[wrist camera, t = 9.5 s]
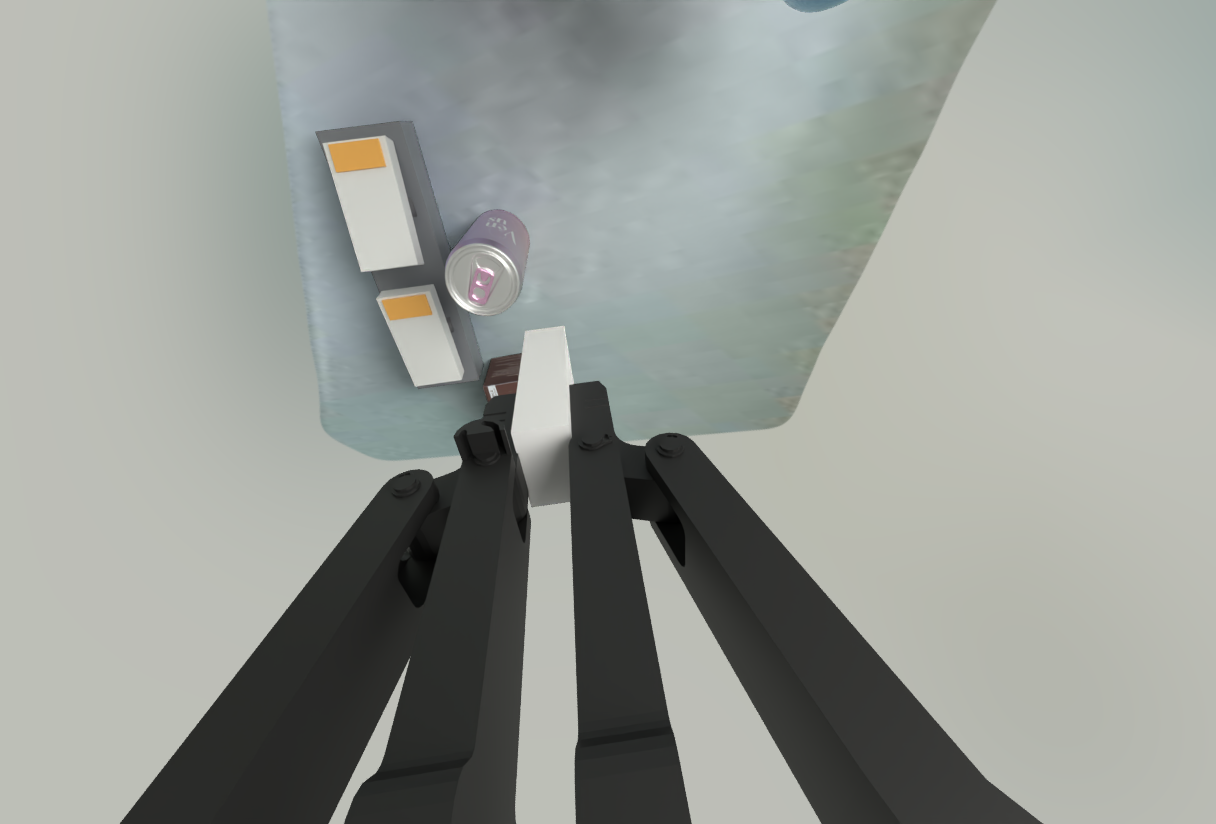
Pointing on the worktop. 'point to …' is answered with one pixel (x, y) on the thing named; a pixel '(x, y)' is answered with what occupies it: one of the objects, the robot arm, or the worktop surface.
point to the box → (502, 376)
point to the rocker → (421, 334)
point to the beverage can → (488, 264)
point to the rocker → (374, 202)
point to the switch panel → (420, 237)
